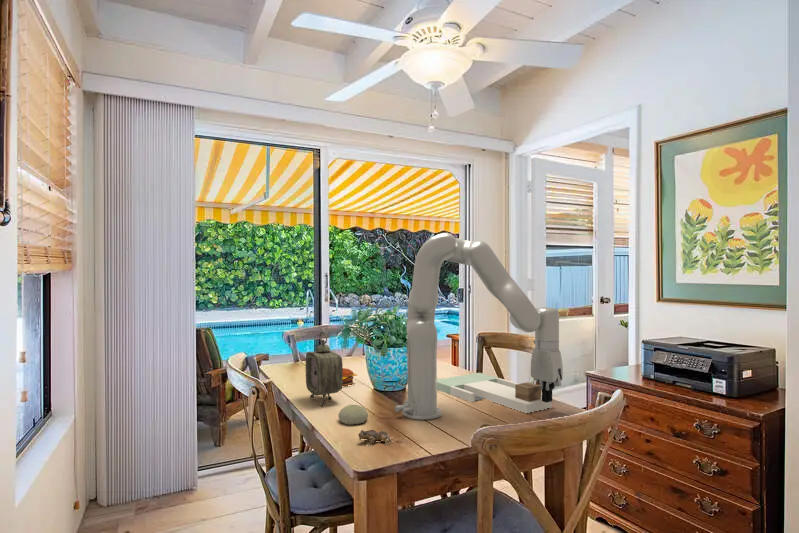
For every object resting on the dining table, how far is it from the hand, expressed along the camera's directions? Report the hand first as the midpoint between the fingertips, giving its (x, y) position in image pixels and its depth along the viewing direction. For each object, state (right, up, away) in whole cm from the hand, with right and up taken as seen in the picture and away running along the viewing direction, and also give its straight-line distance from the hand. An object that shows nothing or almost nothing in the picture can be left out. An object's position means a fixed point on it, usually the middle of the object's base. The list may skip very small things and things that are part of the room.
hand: (547, 401), depth 161 cm
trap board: (-13, -4, +21) cm, 26 cm away
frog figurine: (-55, -5, -24) cm, 60 cm away
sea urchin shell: (-63, -5, -7) cm, 63 cm away
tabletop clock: (-75, -4, +15) cm, 77 cm away
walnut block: (-4, -1, +7) cm, 8 cm away
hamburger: (-72, -4, +39) cm, 82 cm away
